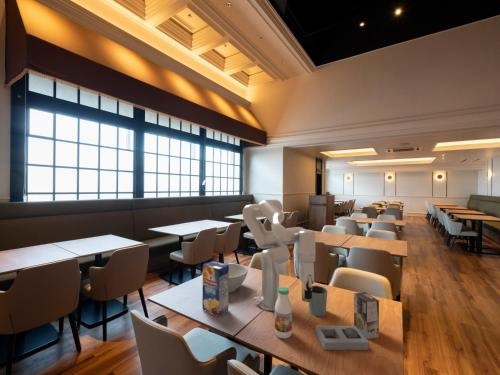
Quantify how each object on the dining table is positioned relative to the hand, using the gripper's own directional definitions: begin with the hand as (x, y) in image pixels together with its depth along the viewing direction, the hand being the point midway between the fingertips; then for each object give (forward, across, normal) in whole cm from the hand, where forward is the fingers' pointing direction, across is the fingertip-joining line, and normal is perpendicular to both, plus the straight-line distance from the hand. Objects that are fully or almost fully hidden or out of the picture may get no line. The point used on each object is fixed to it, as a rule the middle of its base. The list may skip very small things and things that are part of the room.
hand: (306, 295), depth 107 cm
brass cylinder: (+2, 0, 0) cm, 2 cm away
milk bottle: (+16, +4, -11) cm, 20 cm away
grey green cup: (+16, -14, +10) cm, 23 cm away
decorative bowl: (+15, -42, -40) cm, 61 cm away
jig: (+15, +8, +13) cm, 22 cm away
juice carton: (+15, -16, -44) cm, 50 cm away
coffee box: (+16, +2, +27) cm, 31 cm away
